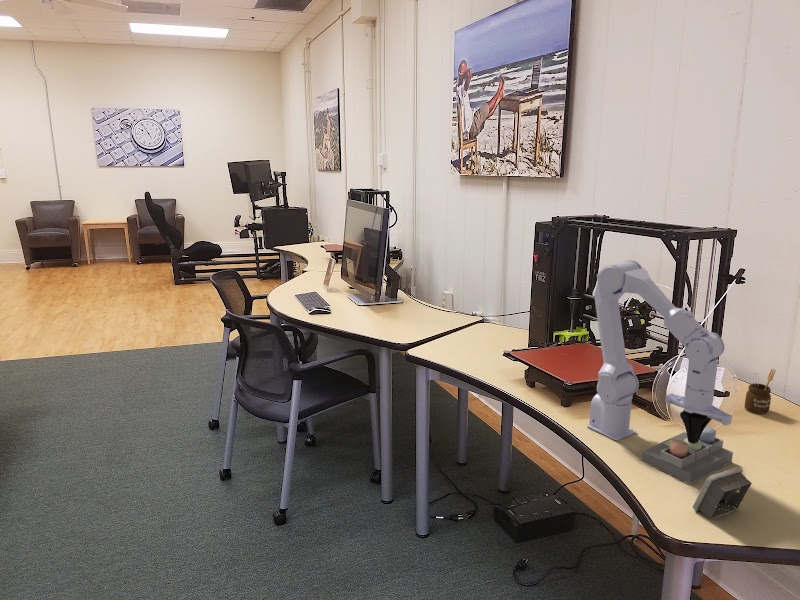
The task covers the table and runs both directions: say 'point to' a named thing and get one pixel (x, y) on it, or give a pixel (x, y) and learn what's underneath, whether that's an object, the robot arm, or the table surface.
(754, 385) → the utensil holder
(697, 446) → the sage button
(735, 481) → the electrical switch
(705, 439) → the slate button
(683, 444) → the terracotta button
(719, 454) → the console
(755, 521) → the table surface
